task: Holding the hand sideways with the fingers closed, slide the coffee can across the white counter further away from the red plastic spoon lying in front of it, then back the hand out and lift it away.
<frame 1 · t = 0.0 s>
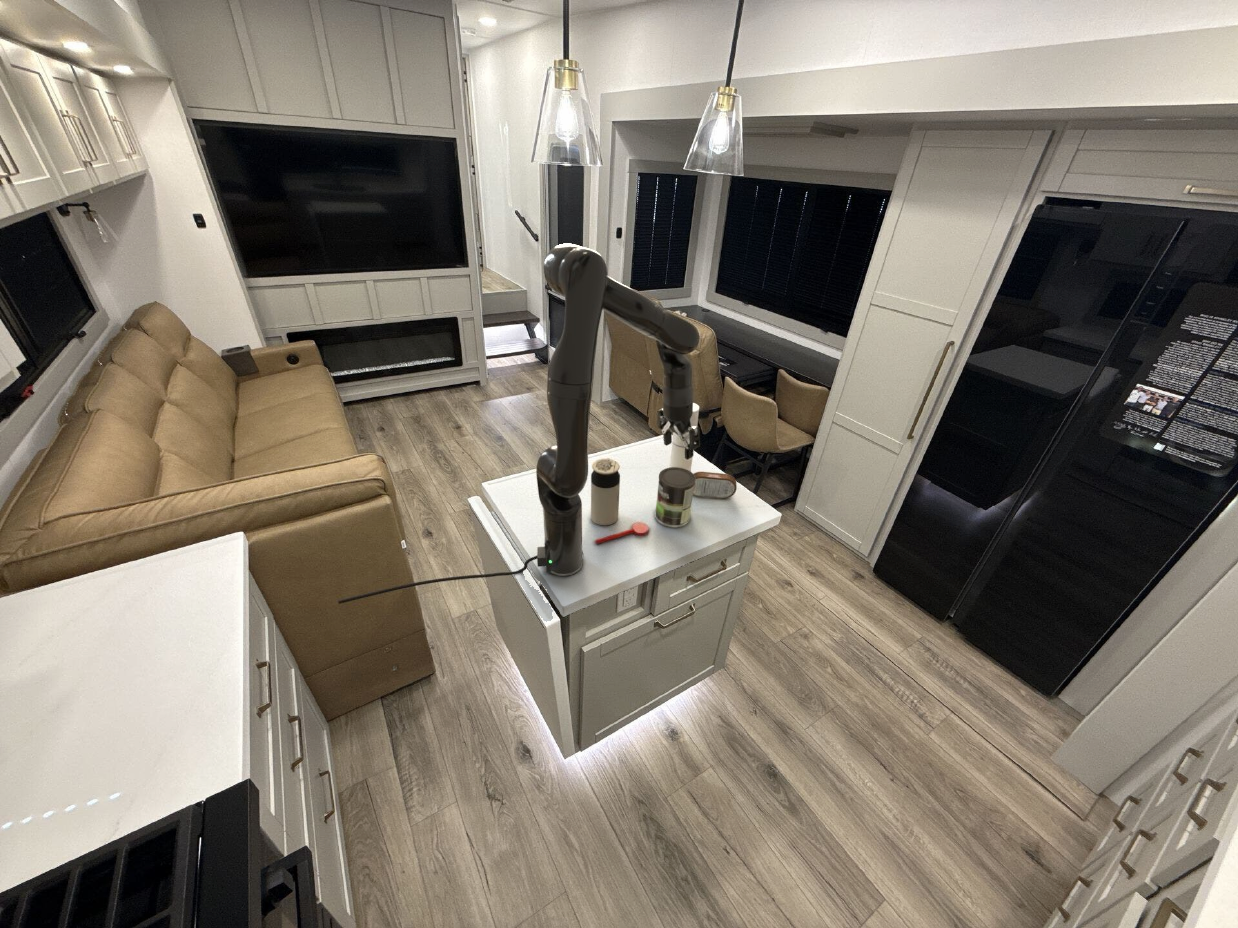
hand: (678, 450, 130), 22 cm above the kitchen island, tool pointing down, fingers open, 8 cm apart
tin: (710, 497, 151), on the kitchen island
red spoon: (624, 534, 134), on the kitchen island
travel mug: (604, 517, 141), on the kitchen island
coffee can: (672, 517, 142), on the kitchen island
cylindrical container: (679, 474, 161), on the kitchen island
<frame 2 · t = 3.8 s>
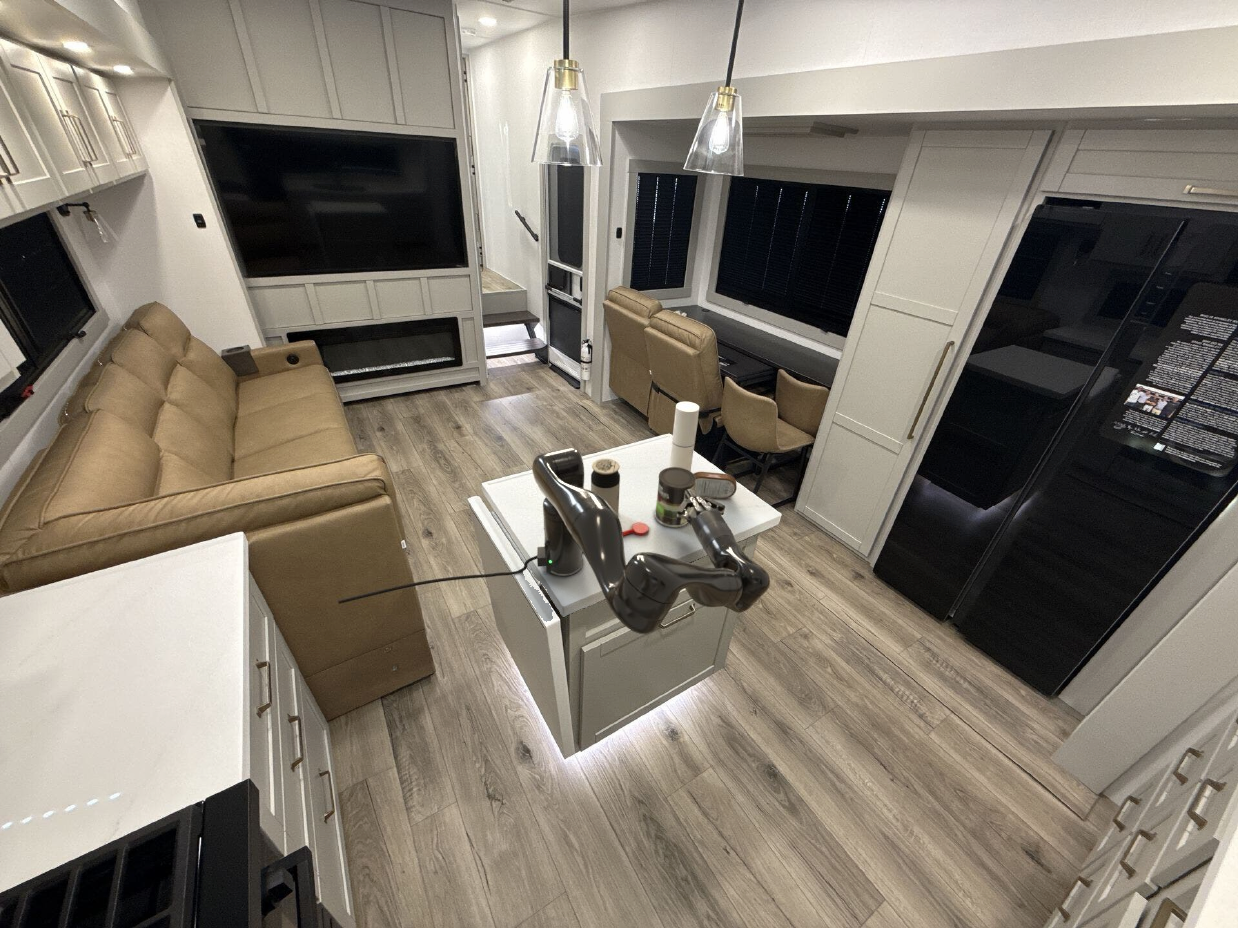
hand: (689, 491, 125), 16 cm above the kitchen island, tool horizontal, fingers closed
nothing on the kitchen island moved.
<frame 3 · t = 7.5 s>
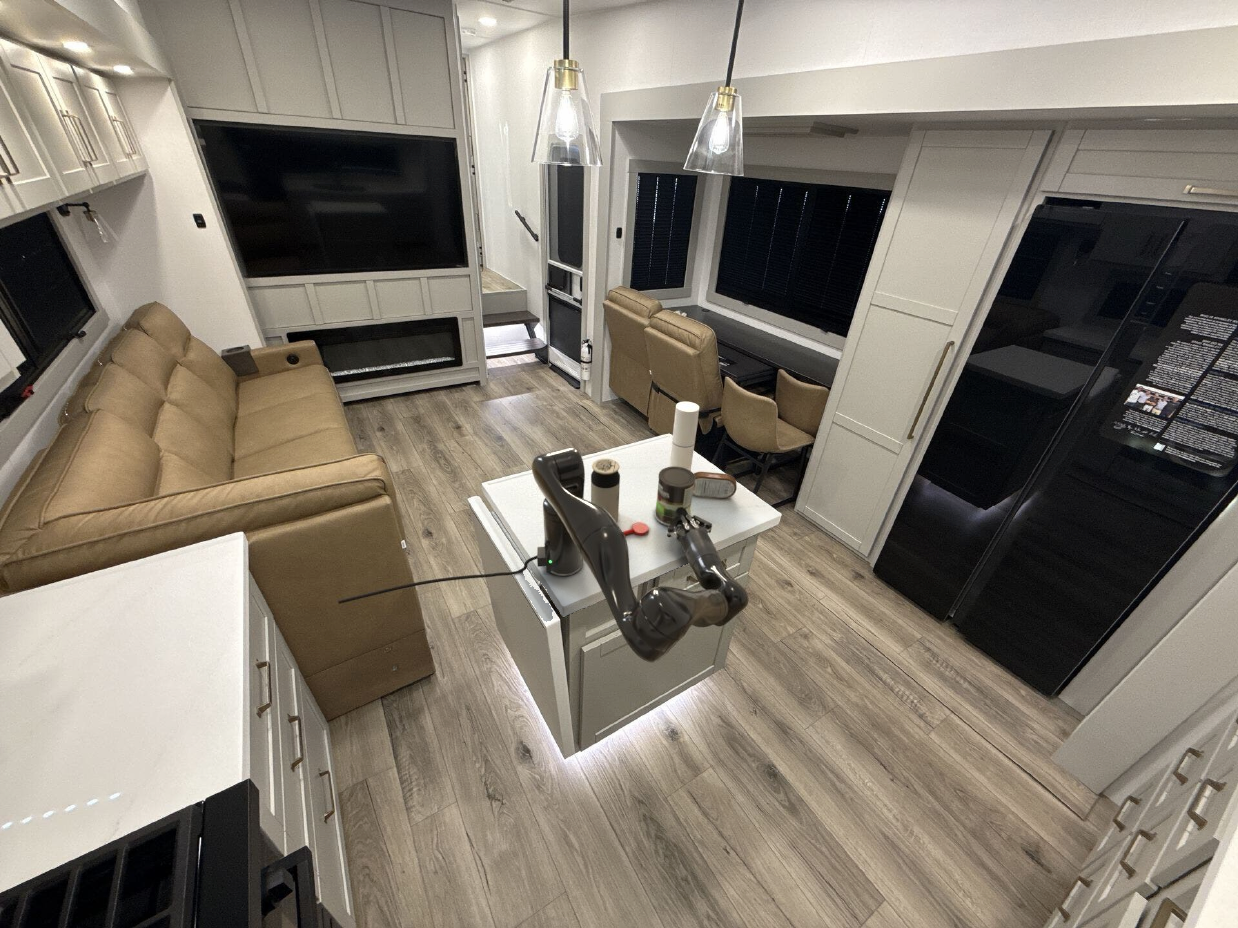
hand: (679, 509, 135), 6 cm above the kitchen island, tool horizontal, fingers closed
coffee can: (672, 516, 142), on the kitchen island, touching gripper
everything else where it was.
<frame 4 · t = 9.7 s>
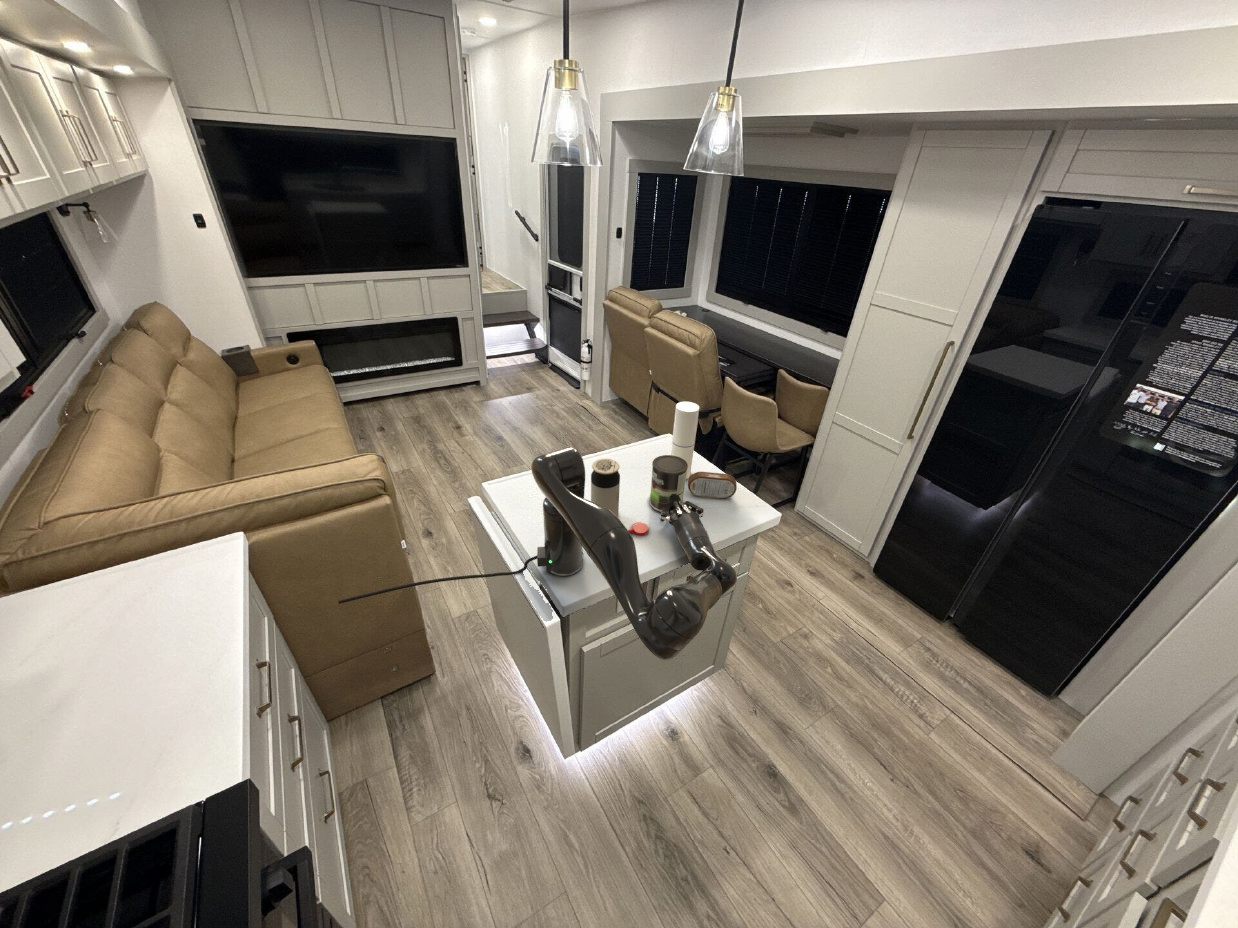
hand: (673, 496, 140), 6 cm above the kitchen island, tool horizontal, fingers closed
coffee can: (666, 503, 147), on the kitchen island, touching gripper
everything else where it was.
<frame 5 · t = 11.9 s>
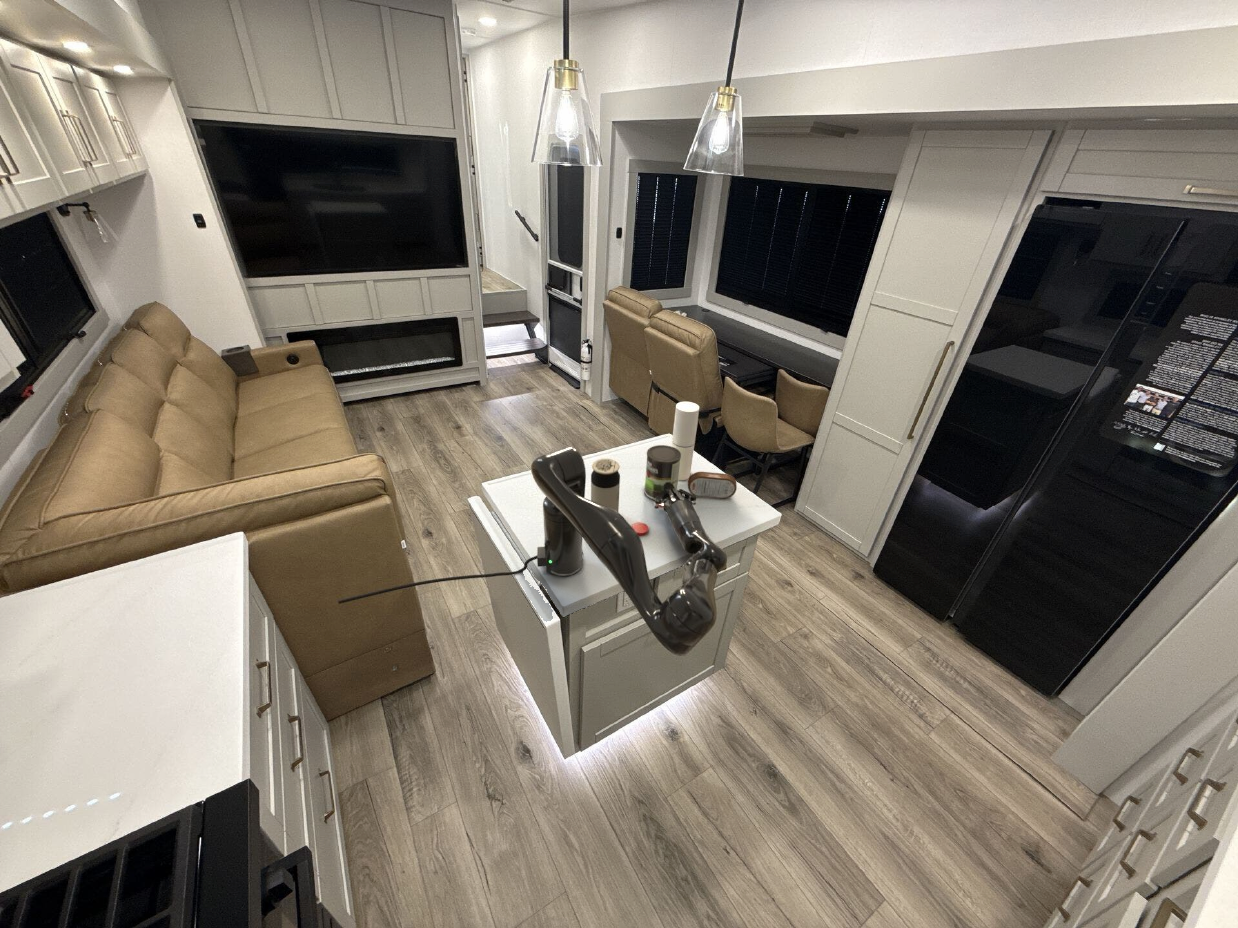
hand: (667, 484, 145), 6 cm above the kitchen island, tool horizontal, fingers closed
coffee can: (660, 492, 152), on the kitchen island, touching gripper
everything else where it was.
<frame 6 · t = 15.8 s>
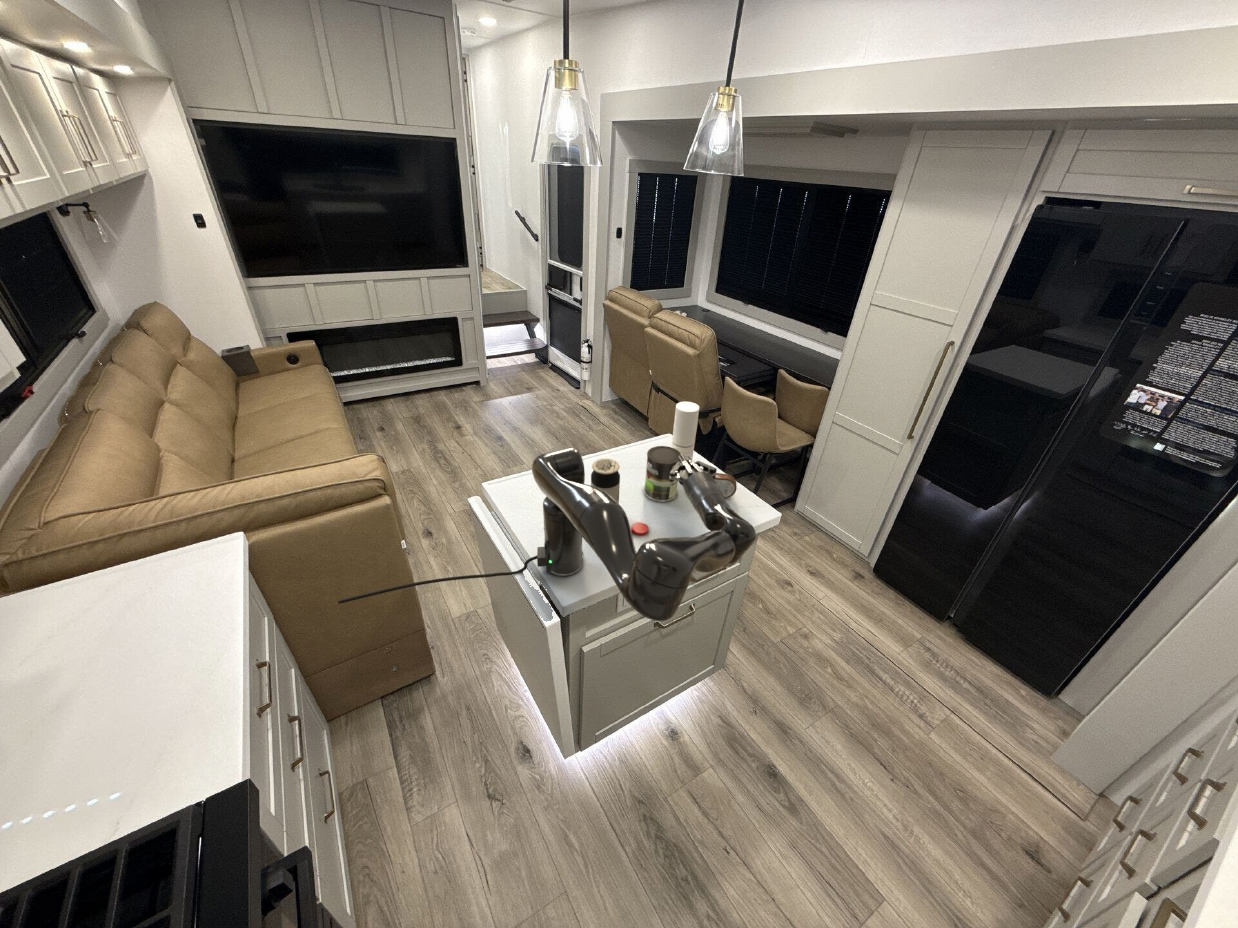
hand: (682, 456, 129), 22 cm above the kitchen island, tool horizontal, fingers closed
coffee can: (660, 492, 152), on the kitchen island
everything else where it was.
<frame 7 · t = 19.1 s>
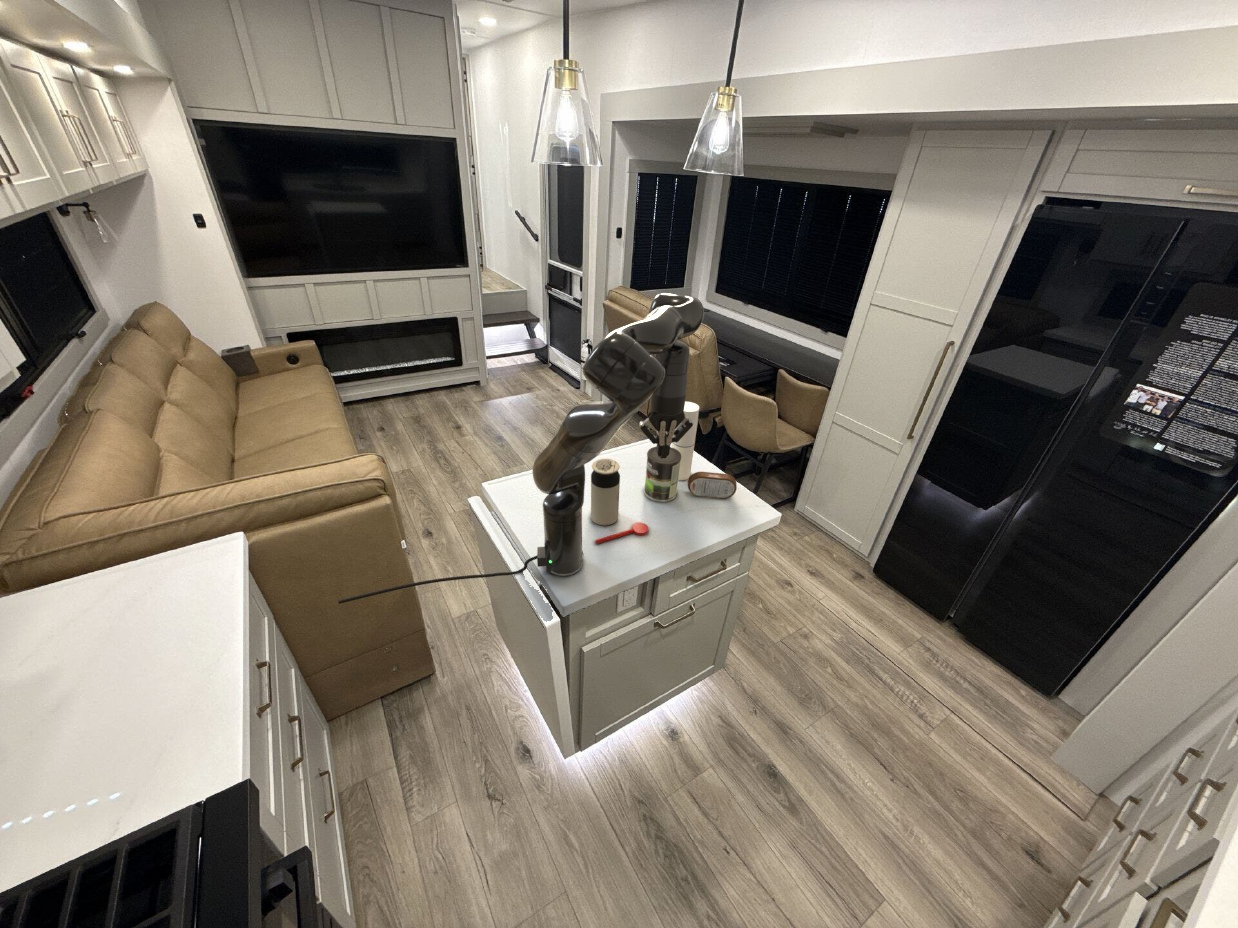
hand: (662, 456, 115), 29 cm above the kitchen island, tool pointing down, fingers closed
nothing on the kitchen island moved.
at the end: coffee can inside the target area on the kitchen island beside the red spoon (3.3 cm from its centre), on the kitchen island; coffee can tilted 0°; red spoon moved 0.0 cm from its start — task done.
